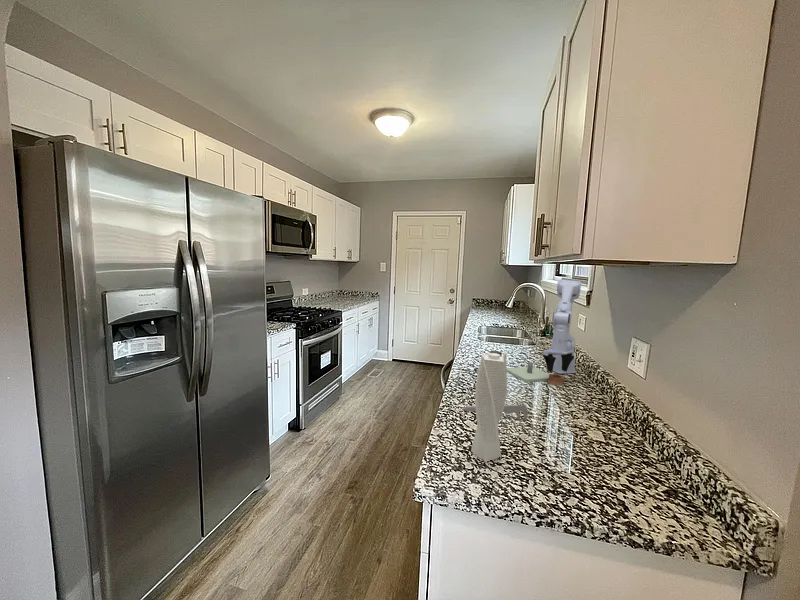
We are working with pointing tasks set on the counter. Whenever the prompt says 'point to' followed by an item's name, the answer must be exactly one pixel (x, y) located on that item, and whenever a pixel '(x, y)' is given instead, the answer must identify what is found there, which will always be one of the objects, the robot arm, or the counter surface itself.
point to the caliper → (507, 409)
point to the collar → (556, 379)
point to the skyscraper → (489, 405)
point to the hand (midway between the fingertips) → (557, 371)
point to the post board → (529, 373)
